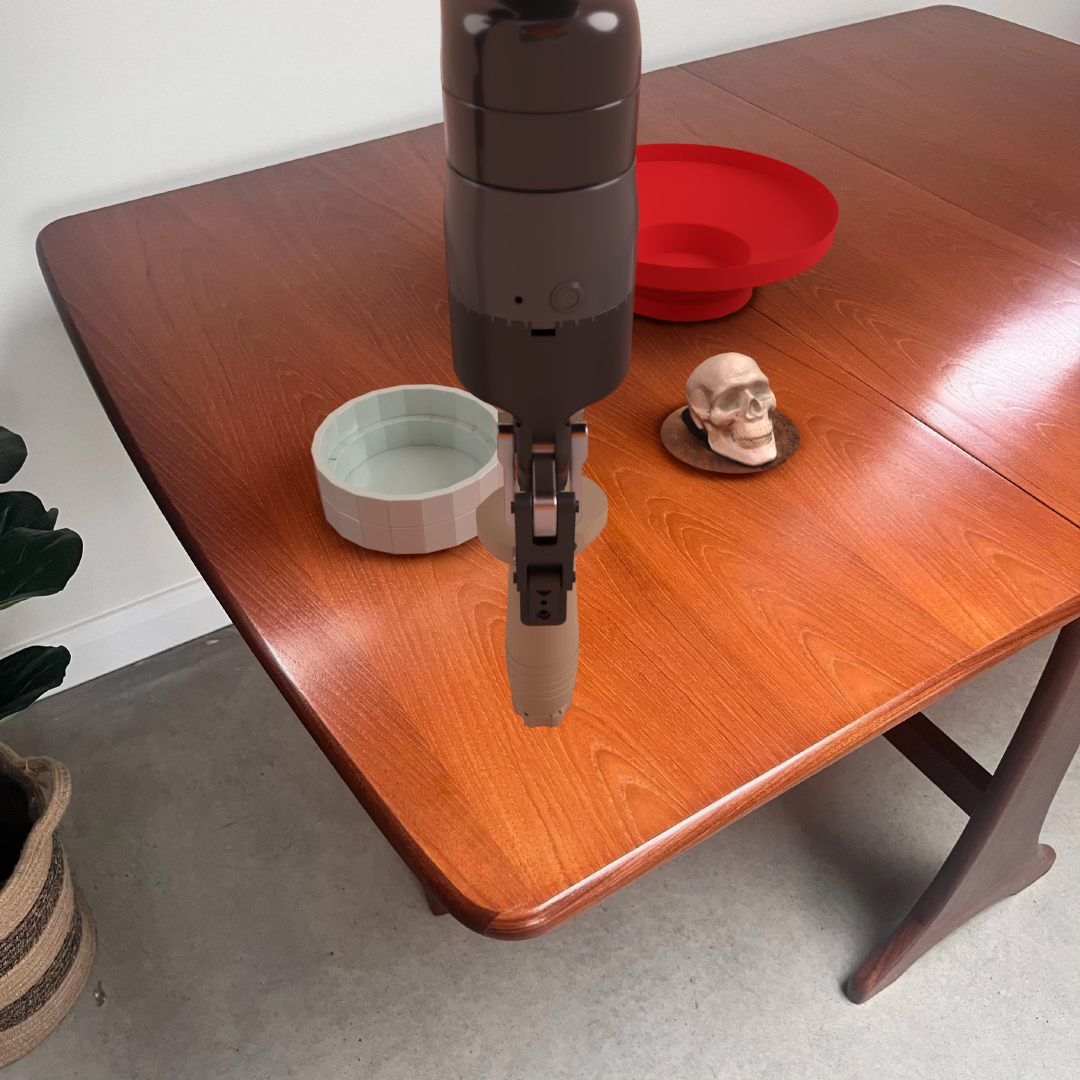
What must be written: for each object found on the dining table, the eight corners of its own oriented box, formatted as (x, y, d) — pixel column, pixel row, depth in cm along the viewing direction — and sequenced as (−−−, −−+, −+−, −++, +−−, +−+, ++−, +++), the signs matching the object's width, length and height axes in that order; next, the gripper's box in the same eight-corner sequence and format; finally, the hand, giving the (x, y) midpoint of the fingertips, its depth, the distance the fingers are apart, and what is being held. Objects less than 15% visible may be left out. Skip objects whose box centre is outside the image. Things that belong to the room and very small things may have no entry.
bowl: (521, 352, 103) (519, 259, 96) (553, 219, 125) (553, 136, 119) (836, 368, 100) (855, 273, 93) (810, 229, 122) (825, 144, 116)
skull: (837, 452, 88) (776, 393, 81) (743, 530, 91) (678, 479, 85) (774, 374, 96) (714, 315, 90) (690, 449, 100) (626, 396, 93)
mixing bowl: (311, 562, 80) (298, 502, 76) (335, 443, 92) (325, 386, 88) (510, 557, 81) (507, 497, 77) (510, 439, 92) (507, 382, 88)
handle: (472, 706, 60) (458, 503, 50) (565, 661, 62) (570, 459, 52) (516, 764, 57) (510, 560, 47) (612, 714, 59) (626, 511, 49)
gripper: (454, 194, 47) (471, 489, 58) (436, 366, 36) (462, 688, 47) (621, 192, 47) (606, 487, 58) (654, 363, 36) (628, 685, 47)
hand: (541, 576), depth 52 cm, fingers closed on handle, 5 cm apart
